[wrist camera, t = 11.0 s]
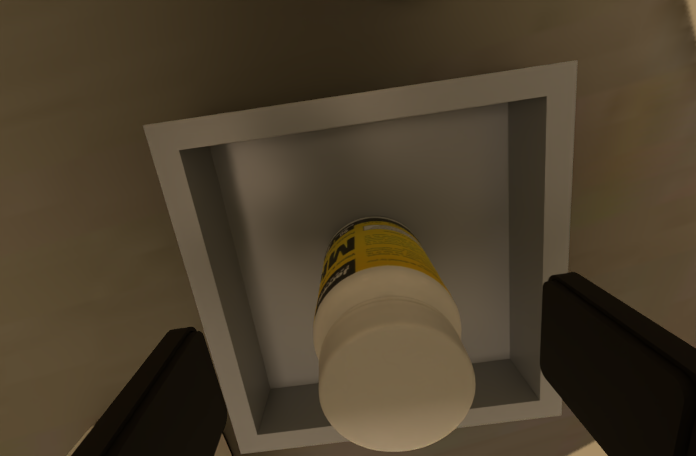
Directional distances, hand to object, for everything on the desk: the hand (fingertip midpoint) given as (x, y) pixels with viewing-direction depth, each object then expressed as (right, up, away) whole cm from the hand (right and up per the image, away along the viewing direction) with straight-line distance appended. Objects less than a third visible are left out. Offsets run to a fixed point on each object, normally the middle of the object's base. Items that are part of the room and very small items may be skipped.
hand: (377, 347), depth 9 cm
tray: (0, +2, +8) cm, 8 cm away
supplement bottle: (0, +2, +7) cm, 8 cm away
